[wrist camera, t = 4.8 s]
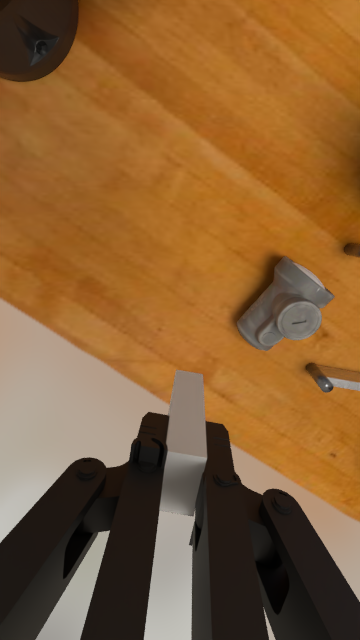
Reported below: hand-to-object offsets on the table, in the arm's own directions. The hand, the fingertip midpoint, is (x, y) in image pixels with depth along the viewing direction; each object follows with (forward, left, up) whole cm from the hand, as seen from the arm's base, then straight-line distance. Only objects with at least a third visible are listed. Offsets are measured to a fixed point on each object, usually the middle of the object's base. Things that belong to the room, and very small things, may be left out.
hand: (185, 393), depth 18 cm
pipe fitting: (+12, 0, -30) cm, 32 cm away
